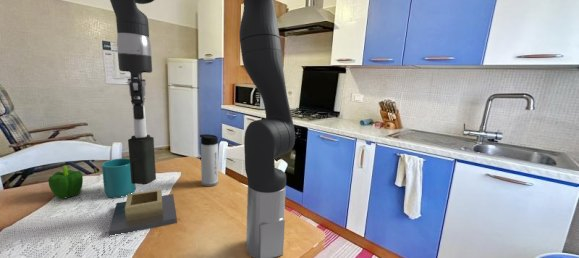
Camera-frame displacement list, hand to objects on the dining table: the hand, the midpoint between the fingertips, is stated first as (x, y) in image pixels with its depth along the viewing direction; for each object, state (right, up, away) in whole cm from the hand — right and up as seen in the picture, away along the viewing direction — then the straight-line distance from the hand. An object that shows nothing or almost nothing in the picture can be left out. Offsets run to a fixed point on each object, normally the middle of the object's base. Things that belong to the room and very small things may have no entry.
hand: (139, 117), depth 67 cm
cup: (-17, -25, +20) cm, 37 cm away
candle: (-1, -18, +4) cm, 19 cm away
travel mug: (+10, -25, +30) cm, 40 cm away
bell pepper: (-33, -26, +15) cm, 44 cm away
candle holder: (-2, -29, +6) cm, 30 cm away
